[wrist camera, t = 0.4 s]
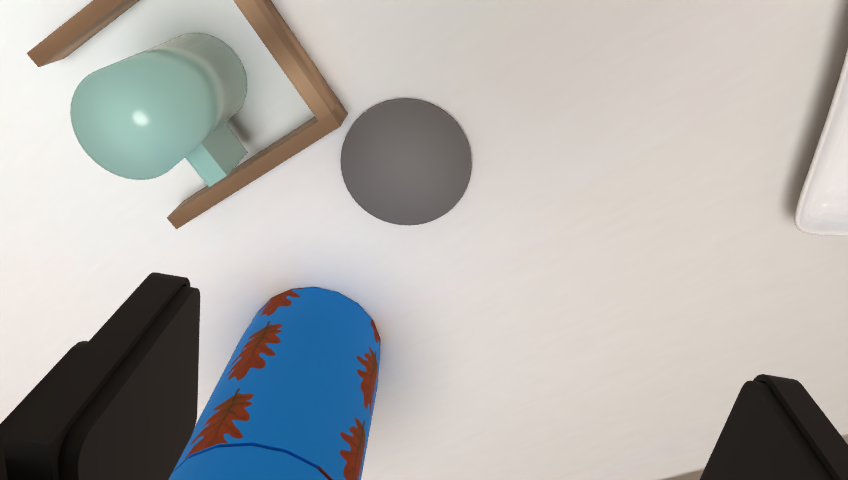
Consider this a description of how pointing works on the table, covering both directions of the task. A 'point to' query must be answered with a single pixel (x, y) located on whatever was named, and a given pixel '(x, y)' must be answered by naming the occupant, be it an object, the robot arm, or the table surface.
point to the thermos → (291, 395)
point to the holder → (283, 48)
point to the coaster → (406, 161)
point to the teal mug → (164, 110)
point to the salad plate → (828, 172)
